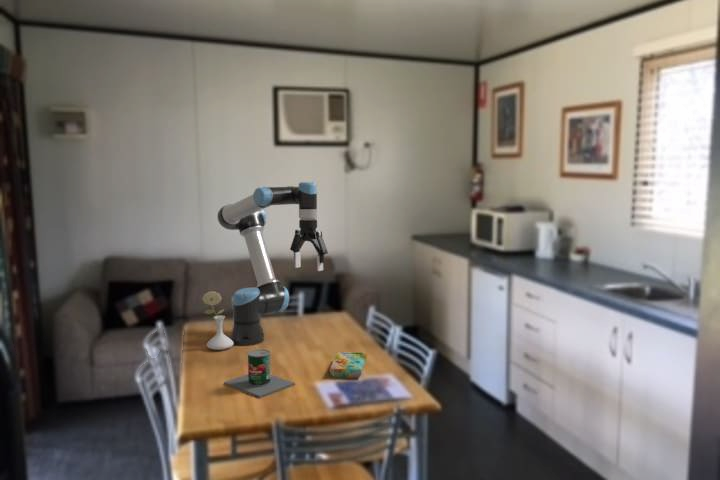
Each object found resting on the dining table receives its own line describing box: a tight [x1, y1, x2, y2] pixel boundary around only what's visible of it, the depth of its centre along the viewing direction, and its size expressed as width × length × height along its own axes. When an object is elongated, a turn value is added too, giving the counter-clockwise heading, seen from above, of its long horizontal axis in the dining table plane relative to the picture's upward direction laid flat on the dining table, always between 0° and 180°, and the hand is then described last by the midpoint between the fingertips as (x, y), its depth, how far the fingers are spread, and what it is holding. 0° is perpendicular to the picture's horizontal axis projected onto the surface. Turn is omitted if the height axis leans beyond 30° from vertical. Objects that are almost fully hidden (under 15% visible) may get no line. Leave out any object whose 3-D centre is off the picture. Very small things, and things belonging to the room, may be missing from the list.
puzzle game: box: [329, 351, 368, 379], centre depth 224 cm, size 12×5×20 cm
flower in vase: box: [201, 290, 235, 351], centre depth 250 cm, size 13×11×25 cm
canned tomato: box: [247, 349, 272, 386], centre depth 207 cm, size 8×8×11 cm
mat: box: [223, 374, 296, 399], centre depth 208 cm, size 20×16×1 cm
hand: (308, 269), depth 247 cm, fingers open, 13 cm apart
